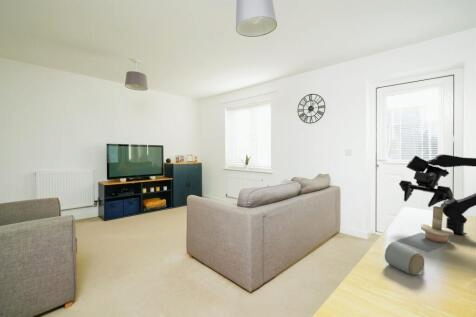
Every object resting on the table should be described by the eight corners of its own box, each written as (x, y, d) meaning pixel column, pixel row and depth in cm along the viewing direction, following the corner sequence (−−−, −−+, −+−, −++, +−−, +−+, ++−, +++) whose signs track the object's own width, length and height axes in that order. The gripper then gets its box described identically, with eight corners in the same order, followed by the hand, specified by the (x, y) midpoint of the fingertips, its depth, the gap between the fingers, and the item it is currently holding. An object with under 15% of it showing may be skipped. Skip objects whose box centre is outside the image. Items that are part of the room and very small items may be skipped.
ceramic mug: (410, 279, 66) (411, 254, 66) (383, 265, 74) (384, 242, 74) (431, 272, 70) (433, 248, 70) (404, 260, 78) (405, 238, 78)
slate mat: (421, 233, 101) (421, 232, 101) (453, 243, 91) (453, 241, 91) (395, 242, 92) (395, 240, 92) (427, 253, 82) (427, 252, 82)
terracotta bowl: (430, 235, 98) (430, 227, 97) (451, 241, 91) (451, 232, 91) (421, 238, 94) (421, 229, 94) (442, 245, 88) (443, 235, 88)
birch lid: (427, 225, 99) (429, 202, 99) (457, 233, 91) (459, 208, 90) (416, 229, 95) (417, 206, 94) (446, 238, 86) (448, 212, 85)
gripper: (402, 163, 109) (387, 187, 105) (452, 168, 92) (436, 196, 88) (410, 178, 113) (396, 202, 109) (459, 185, 96) (444, 213, 92)
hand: (416, 203), depth 100 cm, fingers open, 9 cm apart
